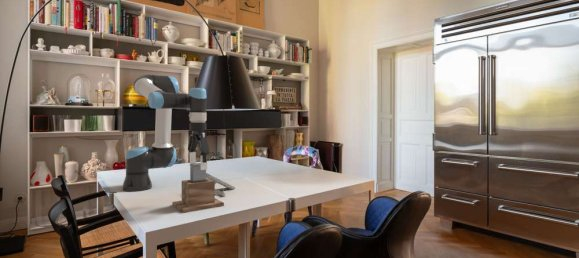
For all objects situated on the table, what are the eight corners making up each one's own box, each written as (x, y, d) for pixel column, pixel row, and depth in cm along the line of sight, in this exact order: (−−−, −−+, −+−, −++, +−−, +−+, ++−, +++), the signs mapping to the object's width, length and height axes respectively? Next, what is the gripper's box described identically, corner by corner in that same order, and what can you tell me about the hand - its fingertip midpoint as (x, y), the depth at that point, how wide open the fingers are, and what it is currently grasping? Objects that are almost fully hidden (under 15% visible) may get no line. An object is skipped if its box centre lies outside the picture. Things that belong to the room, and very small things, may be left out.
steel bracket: (190, 193, 151) (190, 163, 150) (202, 191, 154) (202, 162, 153) (193, 195, 148) (193, 165, 147) (205, 193, 151) (206, 163, 150)
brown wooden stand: (172, 205, 151) (172, 180, 151) (210, 199, 163) (210, 176, 162) (183, 212, 139) (183, 186, 139) (223, 205, 151) (224, 181, 150)
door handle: (223, 198, 187) (195, 185, 175) (229, 185, 189) (201, 171, 177) (240, 204, 174) (211, 190, 162) (246, 190, 176) (218, 175, 164)
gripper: (180, 121, 157) (180, 164, 158) (200, 122, 137) (200, 172, 138) (195, 121, 162) (195, 163, 163) (217, 122, 142) (216, 170, 143)
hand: (198, 167), depth 150 cm, fingers open, 13 cm apart
